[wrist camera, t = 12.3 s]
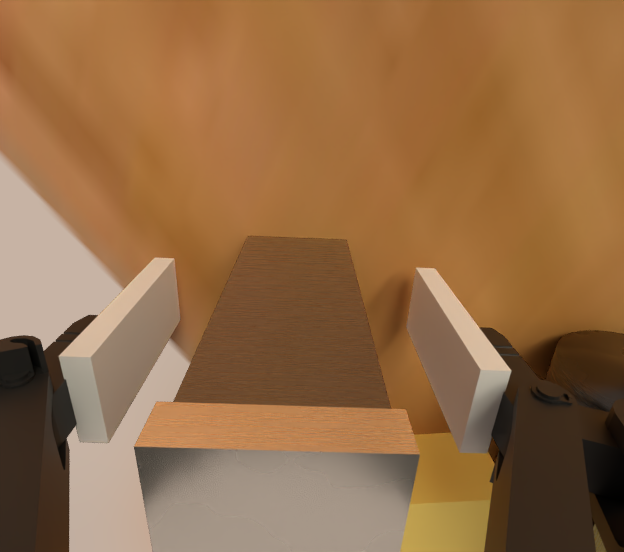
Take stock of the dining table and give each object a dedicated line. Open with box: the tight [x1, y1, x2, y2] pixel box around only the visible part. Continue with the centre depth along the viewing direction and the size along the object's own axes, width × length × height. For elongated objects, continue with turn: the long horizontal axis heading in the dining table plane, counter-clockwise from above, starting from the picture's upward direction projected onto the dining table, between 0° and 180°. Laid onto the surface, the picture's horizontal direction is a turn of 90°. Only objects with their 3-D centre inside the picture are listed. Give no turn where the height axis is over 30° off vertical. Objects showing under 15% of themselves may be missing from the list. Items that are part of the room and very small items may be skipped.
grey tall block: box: [134, 236, 420, 552], centre depth 12 cm, size 4×4×11 cm
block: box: [400, 433, 495, 552], centre depth 20 cm, size 6×5×4 cm
